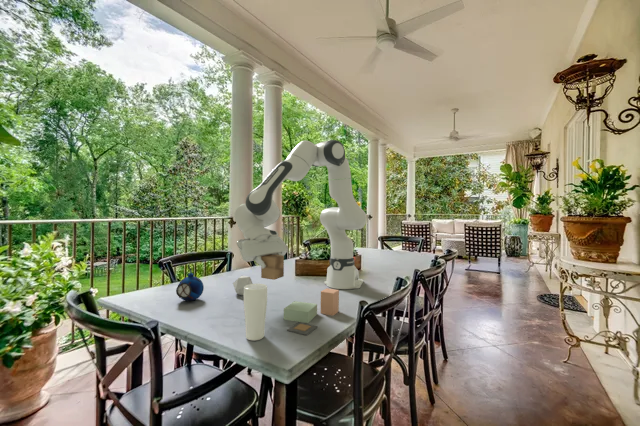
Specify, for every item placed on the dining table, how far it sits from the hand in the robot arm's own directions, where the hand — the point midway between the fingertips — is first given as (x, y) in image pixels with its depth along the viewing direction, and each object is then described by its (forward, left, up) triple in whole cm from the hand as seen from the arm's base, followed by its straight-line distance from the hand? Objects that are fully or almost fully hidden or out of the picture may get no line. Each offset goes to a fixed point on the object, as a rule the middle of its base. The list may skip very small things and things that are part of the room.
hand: (273, 265), depth 111 cm
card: (+11, +19, -16) cm, 28 cm away
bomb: (+9, -35, -16) cm, 39 cm away
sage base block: (+2, +13, -17) cm, 21 cm away
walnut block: (0, -1, -4) cm, 4 cm away
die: (-9, -23, -16) cm, 29 cm away
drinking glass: (+23, +10, -16) cm, 30 cm away
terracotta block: (-7, +20, -16) cm, 27 cm away
